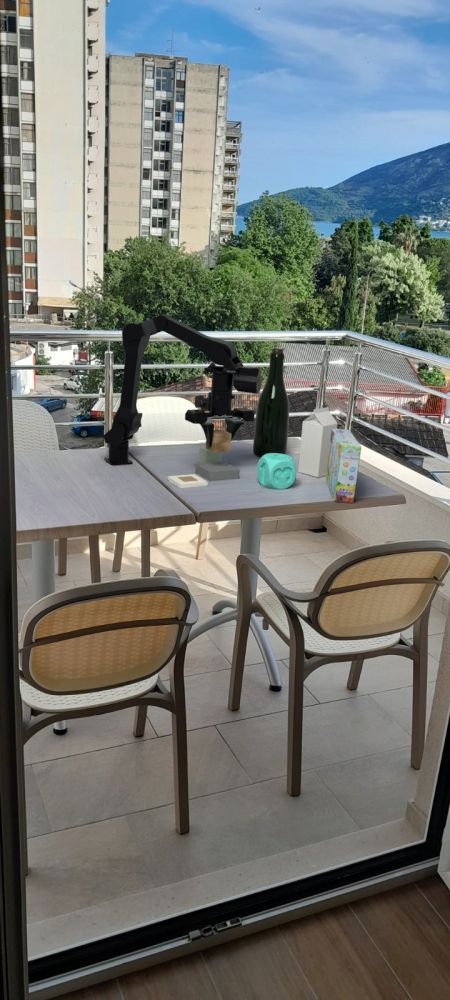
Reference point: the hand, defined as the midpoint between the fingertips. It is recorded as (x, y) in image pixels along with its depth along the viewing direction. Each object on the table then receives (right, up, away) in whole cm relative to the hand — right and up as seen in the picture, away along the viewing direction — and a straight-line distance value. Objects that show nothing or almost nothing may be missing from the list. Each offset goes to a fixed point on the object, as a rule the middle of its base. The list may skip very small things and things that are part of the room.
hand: (218, 446), depth 206 cm
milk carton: (+28, -7, +11) cm, 31 cm away
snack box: (+32, -12, -5) cm, 35 cm away
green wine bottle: (+16, -1, +29) cm, 33 cm away
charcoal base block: (0, -8, +3) cm, 9 cm away
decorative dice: (+15, -11, -3) cm, 19 cm away
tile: (-8, -10, -6) cm, 14 cm away
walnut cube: (0, -1, 0) cm, 1 cm away
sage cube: (-3, -4, +14) cm, 15 cm away
